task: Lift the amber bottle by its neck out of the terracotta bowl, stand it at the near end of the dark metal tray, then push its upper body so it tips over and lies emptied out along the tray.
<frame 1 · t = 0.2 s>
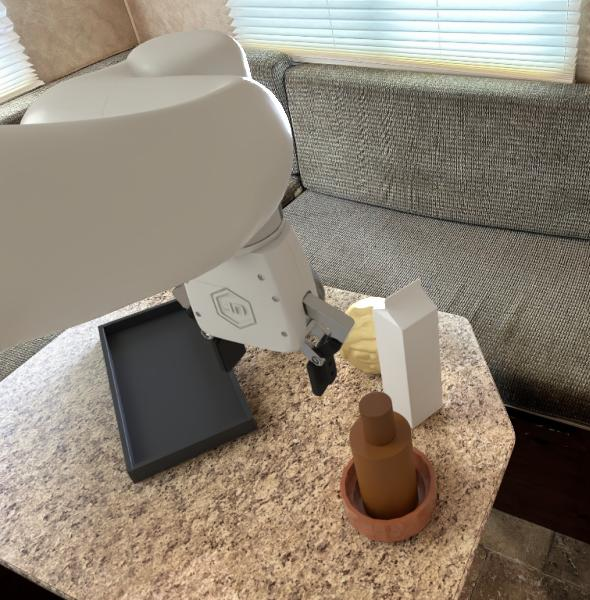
hand: (278, 373, 56), 28 cm above the table, tool pointing down, fingers open, 9 cm apart
tray: (173, 378, 97), on the table
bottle: (390, 498, 76), point 1 cm above the table, touching bowl
bowl: (391, 501, 77), on the table
sculpture: (378, 358, 97), on the table
milk: (414, 407, 88), on the table
dark grey rock: (289, 331, 104), on the table
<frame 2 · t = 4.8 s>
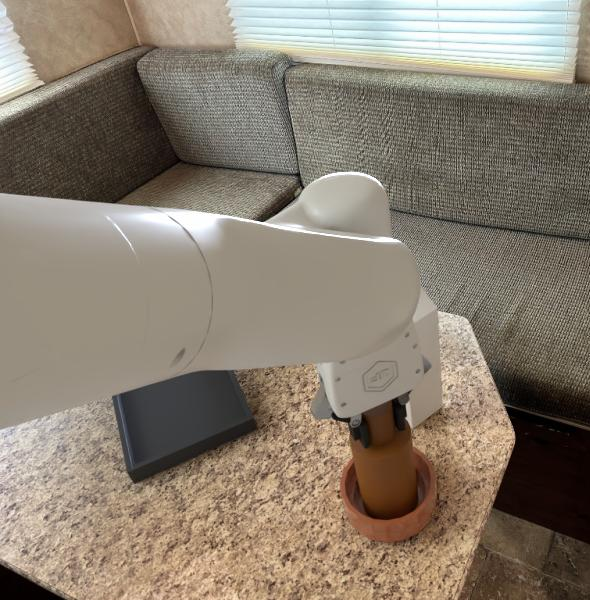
hand: (379, 429, 68), 14 cm above the table, tool pointing down, fingers closed on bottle, 3 cm apart
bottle: (390, 498, 76), point 1 cm above the table, touching bowl, gripper
everything else where it was.
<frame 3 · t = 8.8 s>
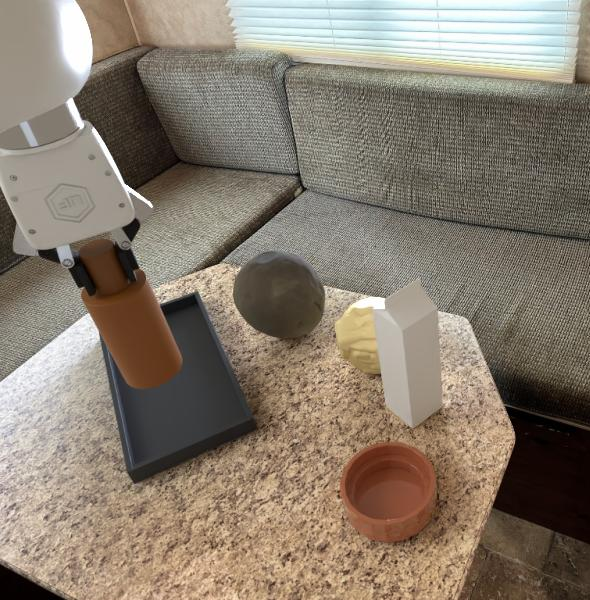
hand: (111, 280, 66), 30 cm above the table, tool pointing down, fingers closed on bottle, 3 cm apart
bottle: (153, 368, 75), point 17 cm above the table, touching gripper
everything else where it was.
when the fingers open (14 cm above the table, at t = 13.0 s): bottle stays where it is, resting on tray.
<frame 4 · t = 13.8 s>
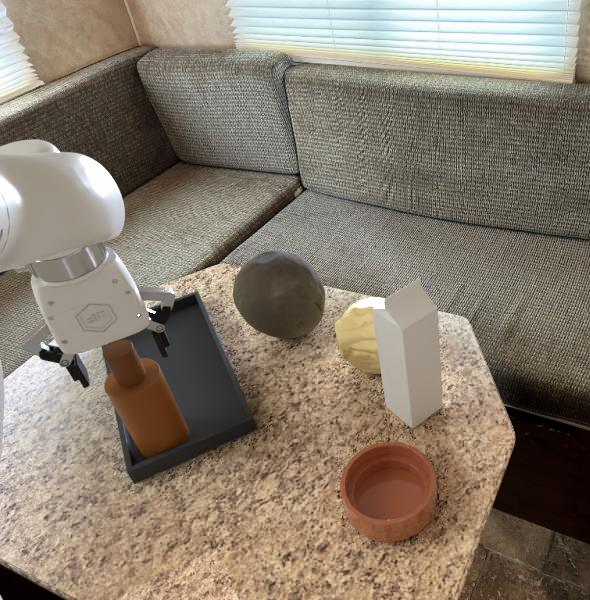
hand: (125, 365, 77), 16 cm above the table, tool pointing down, fingers open, 9 cm apart
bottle: (165, 440, 86), point 1 cm above the table, touching tray
everything else where it was.
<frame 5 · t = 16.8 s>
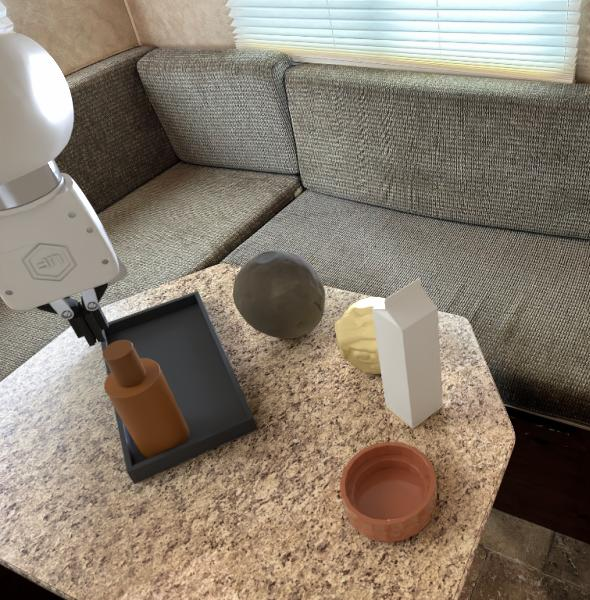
hand: (96, 335, 63), 28 cm above the table, tool pointing down, fingers closed
nothing on the table moved.
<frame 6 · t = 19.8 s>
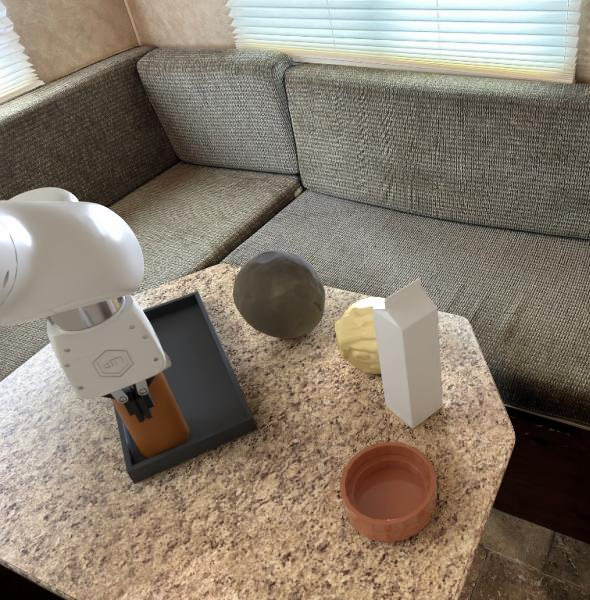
hand: (144, 412, 76), 11 cm above the table, tool pointing down, fingers closed
nothing on the table moved.
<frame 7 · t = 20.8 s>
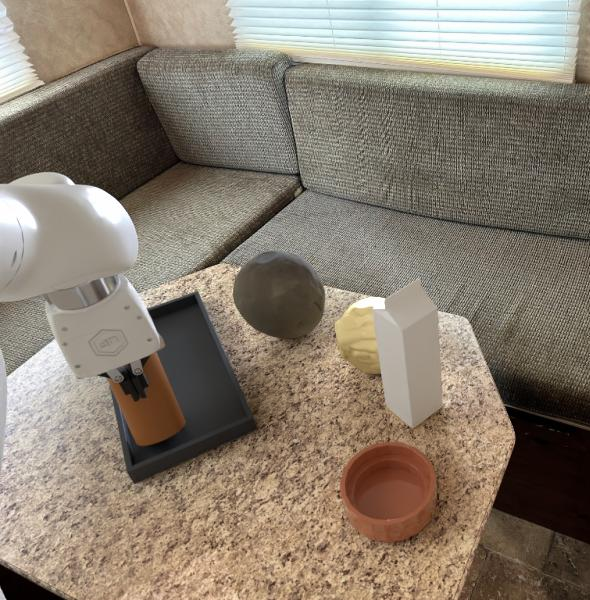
hand: (139, 392, 79), 11 cm above the table, tool pointing down, fingers closed
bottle: (161, 432, 86), point 2 cm above the table, tilted 25°, touching tray
everything else where it was.
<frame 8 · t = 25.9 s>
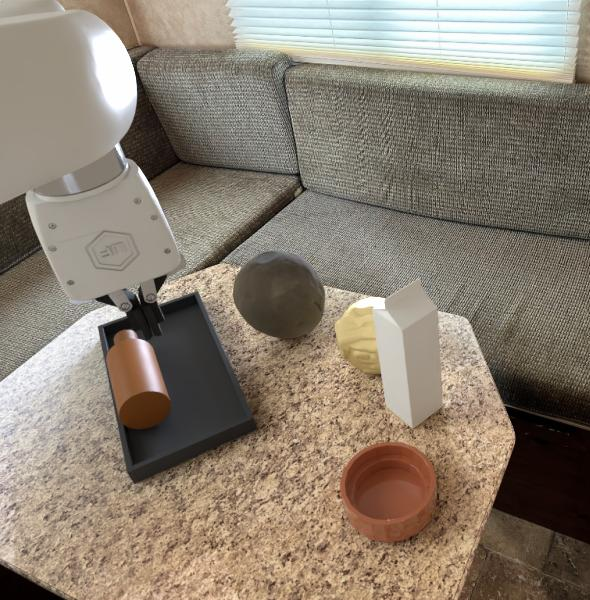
hand: (152, 329, 61), 29 cm above the table, tool pointing down, fingers closed
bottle: (145, 410, 86), point 4 cm above the table, tilted 90°, touching tray
everything else where it was.
at the end: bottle tilted 90°; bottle inside the target area on the tray (10.1 cm from its centre), point 4.1 cm above the tray's base; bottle touching tray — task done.
